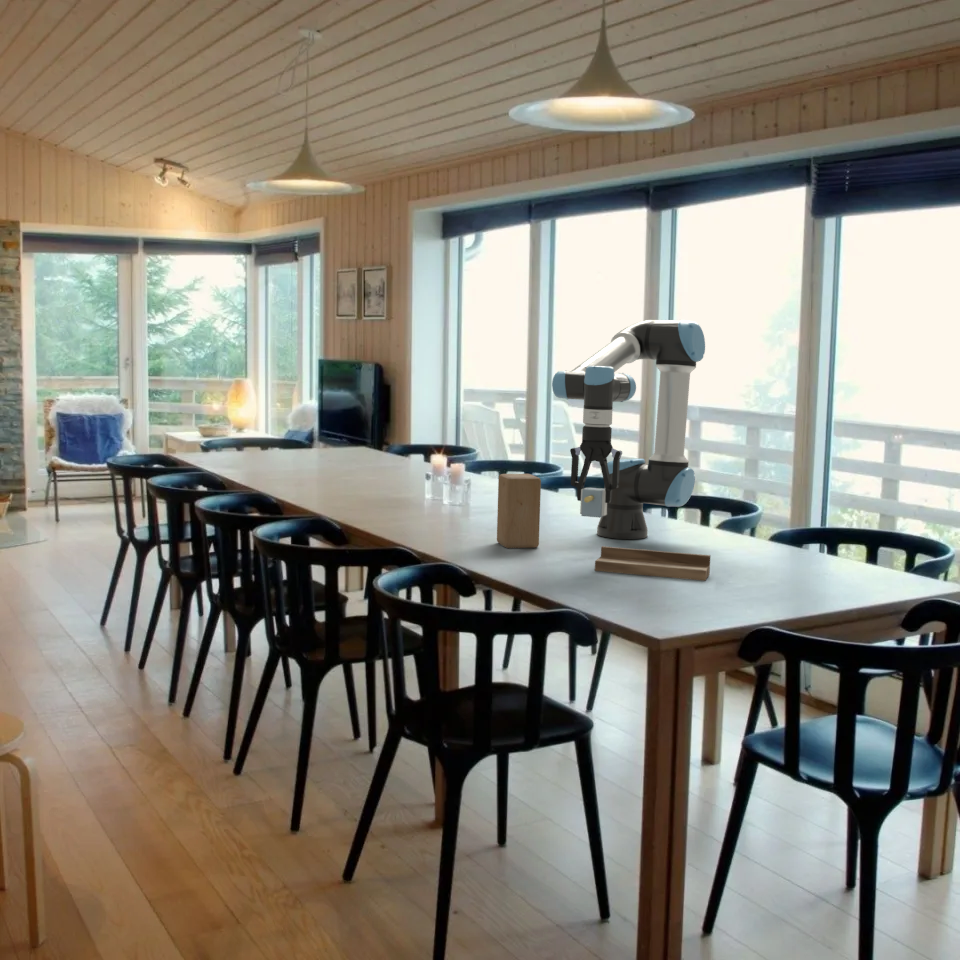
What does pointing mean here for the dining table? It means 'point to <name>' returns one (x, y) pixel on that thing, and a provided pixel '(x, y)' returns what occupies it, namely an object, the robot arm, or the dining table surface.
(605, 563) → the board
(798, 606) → the dining table surface
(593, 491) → the grey cube mallet
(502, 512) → the wooden block
